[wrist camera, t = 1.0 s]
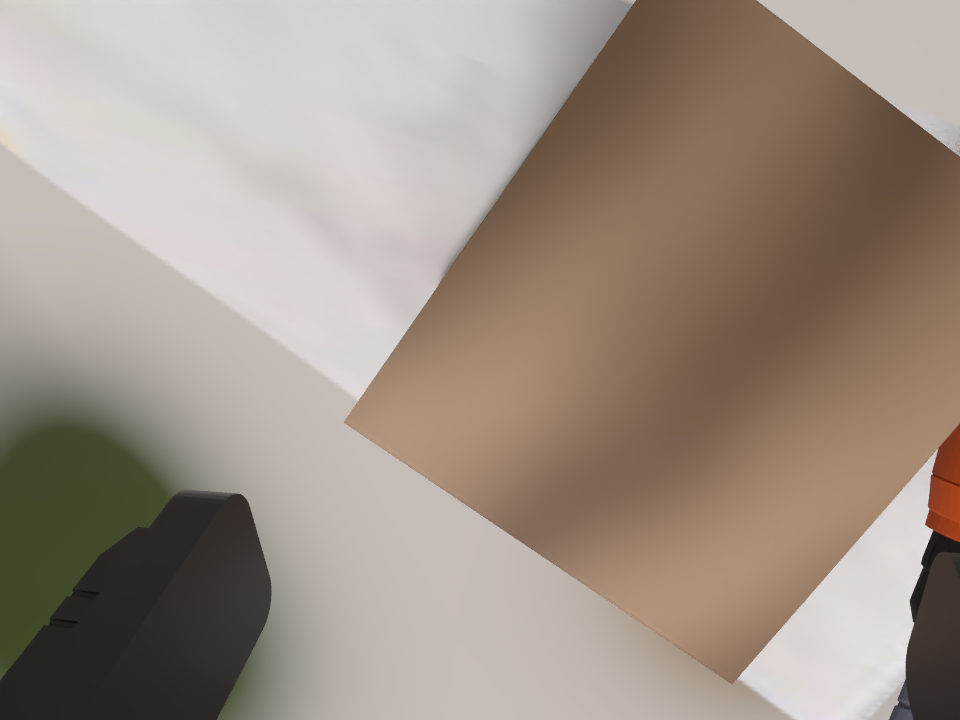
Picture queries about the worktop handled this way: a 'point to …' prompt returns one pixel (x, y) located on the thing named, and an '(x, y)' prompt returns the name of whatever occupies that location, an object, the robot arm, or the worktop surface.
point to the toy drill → (937, 531)
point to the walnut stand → (694, 328)
